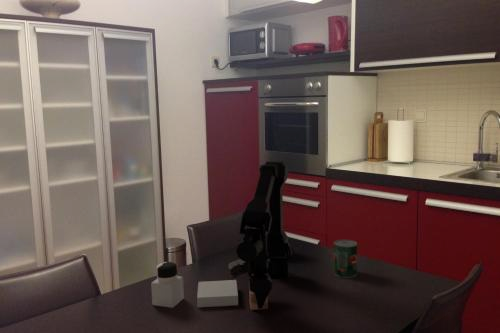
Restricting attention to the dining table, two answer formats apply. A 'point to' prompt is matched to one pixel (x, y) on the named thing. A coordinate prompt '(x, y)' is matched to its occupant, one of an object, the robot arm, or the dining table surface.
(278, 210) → the robot arm
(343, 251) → the canned tomato
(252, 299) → the terracotta cube
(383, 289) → the dining table surface
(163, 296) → the medicine bottle
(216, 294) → the grey base
